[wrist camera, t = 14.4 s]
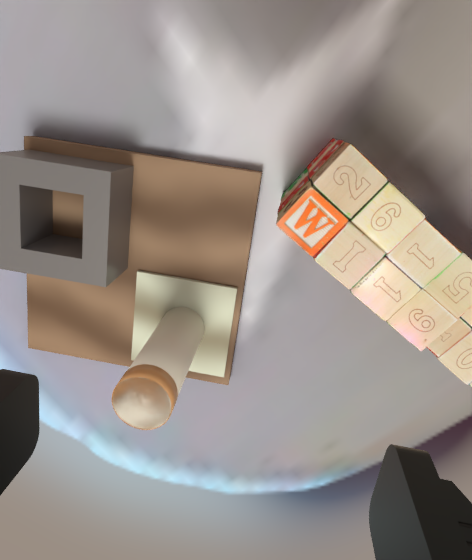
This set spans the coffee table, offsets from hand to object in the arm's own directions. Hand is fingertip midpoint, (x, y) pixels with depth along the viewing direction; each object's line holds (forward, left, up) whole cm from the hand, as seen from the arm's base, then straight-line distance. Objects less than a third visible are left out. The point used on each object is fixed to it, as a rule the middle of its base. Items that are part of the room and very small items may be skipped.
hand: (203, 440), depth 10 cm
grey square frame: (+3, -16, -29) cm, 33 cm away
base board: (+7, -11, -30) cm, 33 cm away
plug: (+12, -6, -28) cm, 31 cm away
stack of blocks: (+2, +11, -30) cm, 33 cm away
